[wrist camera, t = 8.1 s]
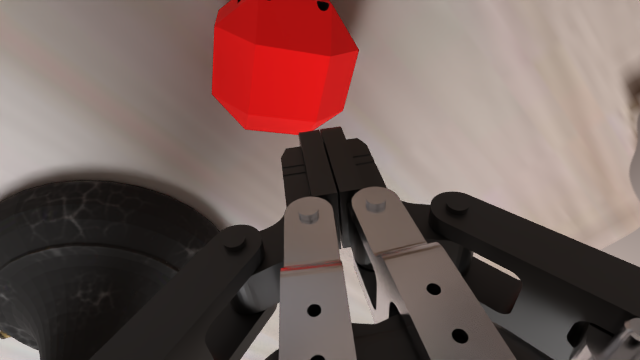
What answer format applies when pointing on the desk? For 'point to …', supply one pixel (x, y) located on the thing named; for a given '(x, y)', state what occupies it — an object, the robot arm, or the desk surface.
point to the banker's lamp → (88, 261)
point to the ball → (282, 63)
